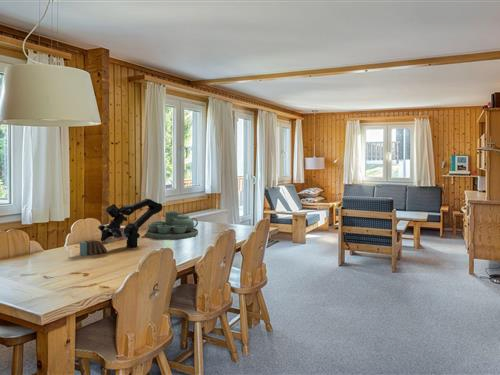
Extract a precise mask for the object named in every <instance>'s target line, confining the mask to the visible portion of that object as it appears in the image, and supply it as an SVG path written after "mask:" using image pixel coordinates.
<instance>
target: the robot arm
mask: <svg viewBox="0 0 500 375" xmlns="http://www.w3.org/2000/svg"><path fill="white" fill-rule="evenodd" d="M144 207H148V209H147V210H146V212H144V213H143V214H142V215H141V216H140V217H138V219H137V220H135V221H134V222H133V223H132V222H128V217H127V216H131V215H132V214H134V212H136V211H137V210H139V209H142V208H144ZM162 210H163V205H162V203H160V202H157V201H154V200H152V199H151V198H145V199H143V200H139V201H138V202H135V203H132V204H128V205H122V206H120V207H119V208H118V207H117V205H116V204H115V203H113V204H111V205H110V206H108V207H106V209H105V211H106V213H107V215H109V216H110V217H111V218H112V220H111V219H110V221H109V222H110V223H108V224H109V225H107V224H106V225H107V226H106V227H107V228H106V227H105V226H103V225H104V224H100V225H99V226H98V227H97V229H98V230H99V231H100V232H101V231H102V234H101V237H100V241H101V243H102V242H103V241H104V240H106V239H107V238H109V237H111V236H114V237H115V238H120V237H121V236H122V233H121V231H120V227H121V226H122V225H121V224H123V222H128V224H126V225H124V226H125V228H124V234H125V236H126V237H128V239H126V247H127V248H130V249H131V248H139V246H138V239H139V238H140V236H141V235H140V233H139V229H140V228H141V226H143V225H144V224H145V223H146V222H147V221H148V220H149V219H150V218H151V217H153V216H154V215H156V214H158V213H160V212H161V211H162Z"/></svg>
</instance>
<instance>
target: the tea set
mask: <svg viewBox="0 0 500 375" xmlns="http://www.w3.org/2000/svg"><path fill="white" fill-rule="evenodd" d="M164 213H165V221H152V222H151V223H149V224H147V226H148V229H147V230H146V232H145V234H146V236H147V237H150V238H153V239H160V240H178V239H180V238H181V239H188V238H194V237H196V236H197V235H198V234H199V230H198V229H197V228H196V227H197V226H198V224H199V221H198V219H197V218H194V217H193V218H191V217H190V216H189V215H187V214H184V213H182V214H179V213H180V211H178V210H177V211H176V210H168V211H164ZM194 220H195V221H196V223H195V222H194Z"/></svg>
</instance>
